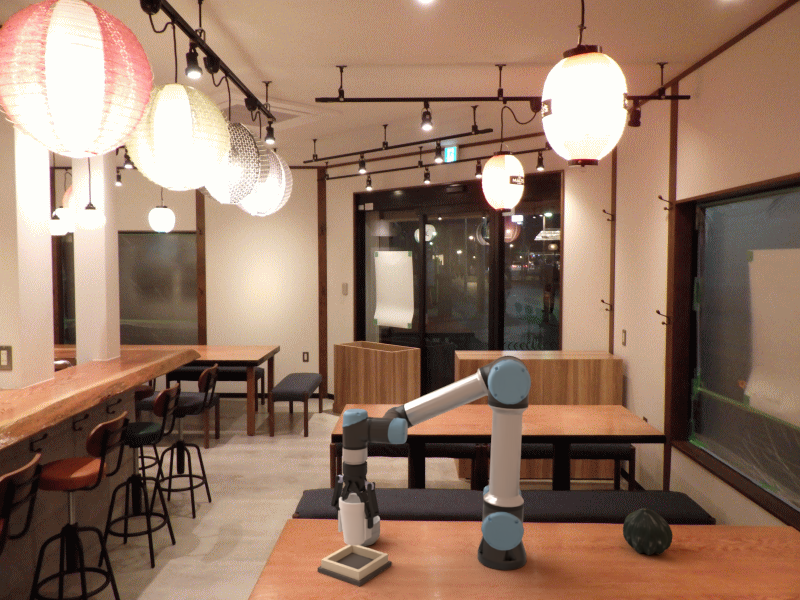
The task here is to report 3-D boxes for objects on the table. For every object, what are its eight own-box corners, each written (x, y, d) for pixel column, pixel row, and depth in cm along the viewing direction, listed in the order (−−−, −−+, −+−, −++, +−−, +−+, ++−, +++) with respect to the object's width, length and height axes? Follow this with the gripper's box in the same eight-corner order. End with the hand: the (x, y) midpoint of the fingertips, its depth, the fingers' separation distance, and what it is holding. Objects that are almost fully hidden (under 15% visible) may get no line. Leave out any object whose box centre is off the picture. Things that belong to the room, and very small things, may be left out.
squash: (657, 521, 212) (633, 492, 208) (689, 541, 197) (664, 509, 194) (630, 552, 210) (605, 522, 206) (659, 574, 195) (633, 543, 192)
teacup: (375, 550, 202) (375, 526, 201) (343, 547, 204) (343, 523, 203) (385, 533, 215) (385, 510, 215) (355, 531, 217) (355, 508, 217)
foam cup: (345, 549, 182) (346, 506, 182) (334, 538, 191) (334, 496, 190) (375, 543, 187) (375, 500, 186) (362, 532, 195) (362, 491, 195)
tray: (391, 565, 191) (391, 553, 191) (359, 586, 178) (359, 574, 178) (351, 552, 200) (351, 541, 200) (317, 571, 187) (317, 559, 187)
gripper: (391, 464, 185) (391, 538, 186) (335, 452, 197) (334, 522, 198) (376, 470, 179) (376, 547, 179) (319, 457, 191) (319, 530, 192)
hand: (354, 534), depth 189 cm, fingers closed on foam cup, 9 cm apart
